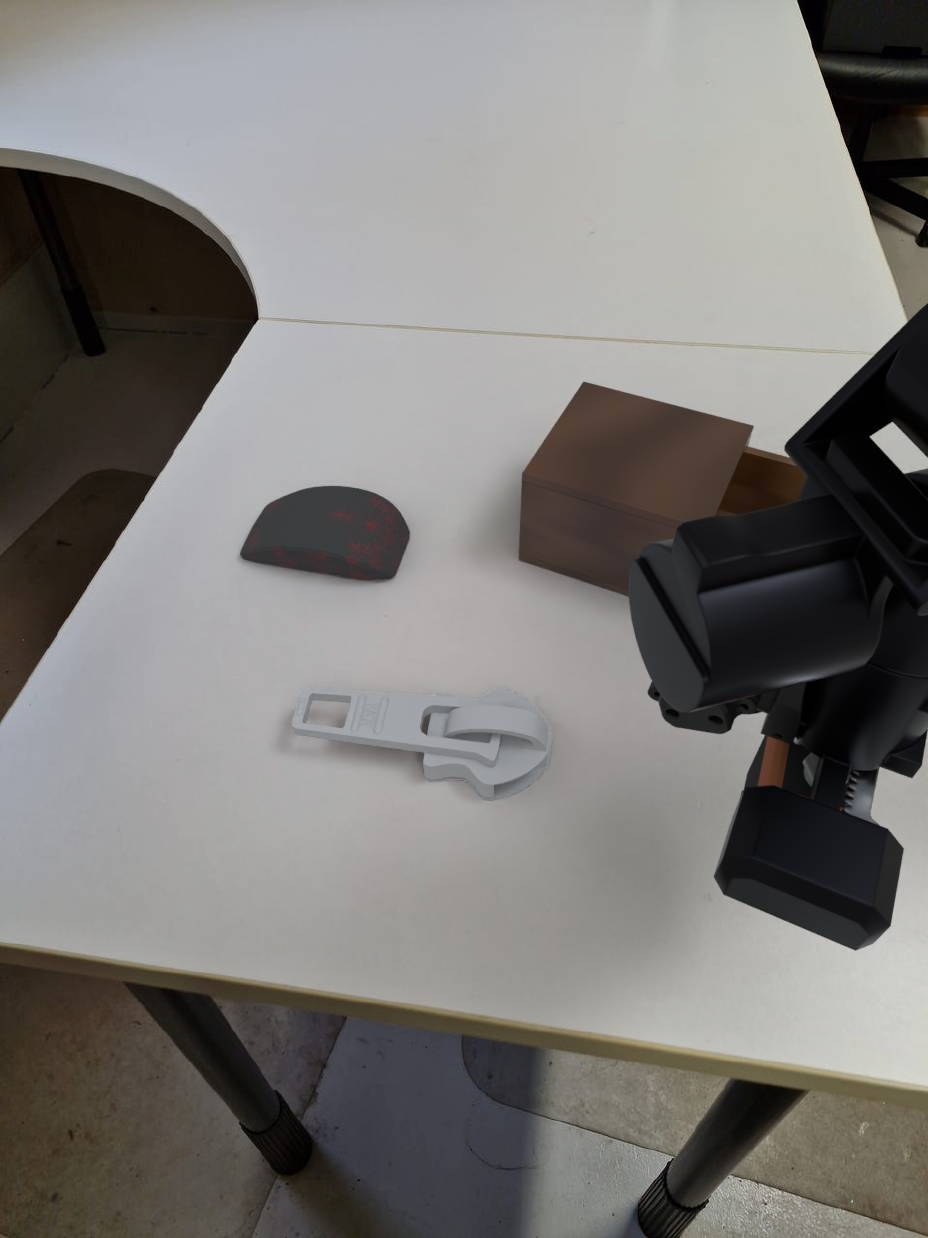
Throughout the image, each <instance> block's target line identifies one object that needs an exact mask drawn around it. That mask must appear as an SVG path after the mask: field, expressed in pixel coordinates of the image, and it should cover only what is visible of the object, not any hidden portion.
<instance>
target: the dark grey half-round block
mask: <svg viewBox="0 0 928 1238" xmlns="http://www.w3.org/2000/svg"><path fill="white" fill-rule="evenodd" d="M410 534H411V532H410V528H409V526H408V524H407V522H406V520H405V518H404V516H403V514H402V513H401V511H400V510H399V509H398V508H397V506H396V505H395V504H394V503H392V502H391V500H389V499H387V498H385V497H384V496H383V495H380V494H378V493H377V492H373V491H370V490H367V489H364V488H363V489H362V488H358V487H352V486H345V485H319V486H311V487H307V488H302V489H299V490H296V491H293V492H290V493H287V494H286V495H283V496H281V497H279V498H277V499H275V500H272V501H271V502H269V503H267V504H266V505H265V507H264V508H263V509H262V510H261V512H260V514H259V515H258V517H257V518H256V520H255V522H254V523H253V525H252V527H251V529H250V531H249V533H248V534H247V537H246V538H245V541H244V543H243V545H242V547H241V549H240V552H239V555H240V558H241V559H243V560H246V561H250V562H254V563H260V564H265V565H272V566H275V567H276V566H277V567H282V568H287V569H288V568H289V569H295V570H300V571H306V572H314V573H319V574H325V575H331V576H335V577H336V576H337V577H343V578H349V579H356V580H384V579H391V578H394V577H395V576H396V575H397V573H398V570H399V567H400V565H401V562H402V560H403V556H404V554H405V551H406V549H407V547H408V544H409V542H410V537H411V535H410Z"/></svg>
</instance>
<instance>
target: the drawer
mask: <svg viewBox="0 0 928 1238" xmlns="http://www.w3.org/2000/svg"><path fill="white" fill-rule="evenodd" d="M805 481H806V477H805V475H804V474H803V473H802V472H801V470H800V469H799V468H798V467H797V465H796V464H795V463H794V462H793V461H792V459H791V458H790V457H789V456H785V455H782V454H778V453H774V452H771V451H766V450H763V449H760V448H756V447H752V446H749V445H748V446H746V448H745V450H744V453H743V455H742V457H741V460H740V462H739V464H738V467H737V469H736V471H735V474H734V476H733V478H732V480H731V483H730V485H729V487H728V490H727V492H726V494H725V497H724V499H723V501H722V504H721V506H720V508H719V510H718V513H717V515H737V514H744V513H749V512H753V511H758V510H762V509H767V508H771V507H776V506H780V505H785V504H789V503H794V502H797V501H798V499H799V497H800V494H801V492H802V489H803V486H804V484H805Z"/></svg>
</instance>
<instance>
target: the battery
mask: <svg viewBox="0 0 928 1238" xmlns="http://www.w3.org/2000/svg"><path fill="white" fill-rule="evenodd" d="M818 760H819V757H818V756H816V755H815V754H813V753H812V752H810V751H809V750H808V749H806V748H805V747H802V746H799V745H797V744H796V743H795V742H794V741H793V742H792V743H790V744H789V743H785V742H782V741H779V740H777V739H774V738H771V737H768V736H766V735H763V738H762V740H761V742H760V744H759V746H758V749H757V750H756V753H755V755H754V758H753V760H752V762H751V763H750V766H749V769H748V771H747V774H746V778H745V781H744V787H743V789H744V788H745V787H756V786H767V785H774V786H777V787H779V788H782V789H785V790H787V791H790V792H793V793H795V794H798V795H801V796H803V797H806V798H808V799H809V795H810V791H811V788H812V784H813V780H814V776H815V772H816V768H817V764H818ZM851 770H852V769H849V772H848V776H847V781H846V785H845V789H844V794H843V798H842V802H841V807H840V811H841V810H842V809H843V807H845V806H844V805H843V802H844V801H845V799H847V798H845V794H846V793H847V791H848V790H847V789H846V788H847V786H848V784H851V783H849V782H848V780H849V778H850V776H852V775H850V772H851Z"/></svg>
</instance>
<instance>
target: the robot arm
mask: <svg viewBox="0 0 928 1238" xmlns="http://www.w3.org/2000/svg"><path fill="white" fill-rule="evenodd" d="M892 423H893V424H894V425H895V426H896V427H897V428H898V429H899V430H900V431H901V432H902V433H903V434H904V435H905V436H906V438H908V439H909V440H910V441H911V442H912V443H913V445H914V446H915V447H916V448H917V449H918V450H919V451H920V452H921V453H922V454H923V455H924V456H925V457H926V458H927V459H928V302H927V303H926V304H925V305H923V306H922V307H921V308H920V309H919V310H918V311H917V312H916V313H915V314H914V315H913V316H912V317H911V318H909V320H908V321H907V322H906V323H905V324H904V325H903V326H902V327H901V328H899V330H898V331H896V333H895V334H894V335H893V336H892V337H891V338H890V339H889V340H888V341H886V343H885V344H884V345H883V346H881V348H880V349H879V350H878V351H876V353H875V354H873V356H872V357H870V358H869V360H867V362H865V363H864V365H863V366H861V367H860V369H858V371H857V372H856V373H854V375H852V376H851V377H850V379H848V380H847V381H846V382H845V383H844V385H842V386H841V387H840V388H839V389H838V390H837V392H835V393H834V394H833V395H832V396H831V397H830V398H829V399H828V400H827V401H826V402H825V403H823V405H822V406H821V407H820V408H819V409H818V410H817V411H816V412H815V413H814V414H813V415H812V416H811V417H810V418H809V419H808V420H807V421H806V422H805V423H803V425H802V426H801V427H799V429H798V430H797V431H796V432H795V433H794V434H793V435H792V436H791V437H790V438H789V439H788V440H787V441H786V443H785V444H784V447H783V448H784V449H783V451H784V452H785V454H786V455H787V457H790V458H791V459H792V461H793V462H794V463H795V464H796V465H797V467H798V468H799V469H800V470H801V472H802V473H803V474H804V475H805V477H806V481H805V484H804V486H803V489H802V492H801V494H800V497H799V499H798V501H797V502H794V503H789V504H785V505H780V506H776V507H771V508H767V509H762V510H758V511H753V512H749V513H744V514H737V515H716V516H710V517H705V518H701V519H696V520H692V521H687V522H684V523H682V524H681V525H680V526H679V527H677V529H676V533H675V537H674V538H672V539H667V540H663V541H658V542H654V543H650V544H648V545H647V546H645V547H644V548H643V550H642V551H641V553H640V555H639V556H638V558H634V559H633V560H632V563H631V567H630V574H629V596H628V604H629V611H630V616H631V617H630V620H631V623H632V624H631V625H632V628H633V633H634V637H635V640H636V645H637V648H638V651H639V654H640V657H641V660H642V662H643V664H644V667H645V670H646V672H647V674H648V676H649V679H650V680H651V682H650V685H649V686H648V689H647V695H648V697H649V698H650V699H652V700H653V701H654V702H658V707H659V709H660V713H661V717H662V718H663V720H664V721H665V722H666V723H668V724H669V725H671V726H672V727H673V728H676V729H683V730H689V731H697V732H701V733H702V732H703V733H708V734H715V735H723V734H727V733H728V732H730V731H731V730H732V729H733V726H734V722H735V720H736V719H737V718H738V717H739V716H741V715H747V716H748V715H749V716H750V715H755V714H760V713H764V714H766V715H765V718H764V719H763V720H764V721H763V725H762V727H761V730H760V735H762V736H765V735H766V736H768V737H771V738H774V739H777V740H779V741H782V742H785V743H789V744H790V743H792V742H793V741H794V742H795V743H796V744H797V745H799V746H802V747H805V748H806V749H808V750H809V751H810V752H812V753H813V754H815V755H816V756H818V757H819V760H818V764H817V768H816V772H815V776H814V780H813V784H812V788H811V791H810V795H809V799H808V798H806V797H803V796H801V795H798V794H795V793H793V792H790V791H787V790H785V789H782V788H779V787H777V786H774V785H767V786H756V787H745V788H744V787H743V789H742V790H741V793H740V796H739V798H738V801H737V804H736V806H735V809H734V812H733V815H732V818H731V820H730V823H729V826H728V829H727V833H726V835H725V839H724V841H723V845H722V848H721V851H720V854H719V858H718V861H717V864H716V867H715V871H714V874H713V879H714V881H715V882H716V884H717V886H718V888H719V889H720V891H721V893H722V895H723V896H726V897H728V898H730V899H733V900H735V901H737V902H740V903H742V904H744V905H747V906H749V907H752V908H754V909H755V910H758V911H761V912H763V913H766V914H768V915H769V916H772V917H775V918H777V919H779V920H782V921H783V922H784V921H785V922H786V923H789V924H792V925H794V926H796V927H799V928H800V929H801V928H802V929H803V930H805V931H808V932H810V933H813V934H815V935H817V936H819V937H822V938H824V939H827V940H829V941H831V942H833V943H836V944H839V945H840V946H843V947H845V948H848V949H850V950H853V951H854V952H856V951H858V950H861V949H864V948H866V947H869V946H872V945H874V944H875V943H876V942H877V941H878V940H879V939H880V938H881V937H882V936H883V935H884V934H885V933H886V932H887V931H888V930H889V929H890V928H891V926H892V920H893V914H894V910H895V909H894V908H895V903H896V898H897V893H898V886H899V880H900V873H901V869H902V862H903V858H904V851H905V848H904V847H903V846H902V844H901V843H900V842H899V840H898V839H897V838H896V837H895V836H894V834H893V833H892V832H891V831H890V829H889V828H887V827H885V826H882V825H880V824H879V823H878V822H877V821H876V820H875V819H873V818H872V815H871V811H872V808H873V807H872V806H873V802H874V797H875V791H876V787H877V782H878V777H879V773H880V772H879V771H880V768H881V769H884V770H887V771H890V772H893V773H896V774H899V775H901V776H904V777H907V778H910V779H913V778H914V777H915V776H916V775H917V773H918V772H919V771H920V769H921V768H922V766H923V762H924V761H923V760H924V755H925V749H926V743H927V738H928V468H923V469H918V470H915V471H910V472H905V473H904V472H903V471H902V470H901V469H900V468H899V466H898V465H897V464H896V463H895V462H894V461H893V460H892V459H891V458H890V457H889V455H887V454H886V453H885V451H884V450H883V449H882V448H881V447H880V446H879V445H878V444H877V443H876V442H875V441H874V440H873V439H872V438H871V437H872V436H873V435H875V434H876V433H878V432H880V431H881V430H882V429H884V428H886V427H887V426H888V425H890V424H892ZM849 769H852V770H851V772H850V775H852V776H850V778H849V780H848V782H849V783H851V784H848V786H847V788H846V789H847V790H848V791H847V793H846V794H845V798H847V799H845V801H844V802H843V805H844V806H845V807H843V809H842V810H841V811H840V807H841V802H842V798H843V794H844V789H845V785H846V781H847V776H848V772H849Z"/></svg>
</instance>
